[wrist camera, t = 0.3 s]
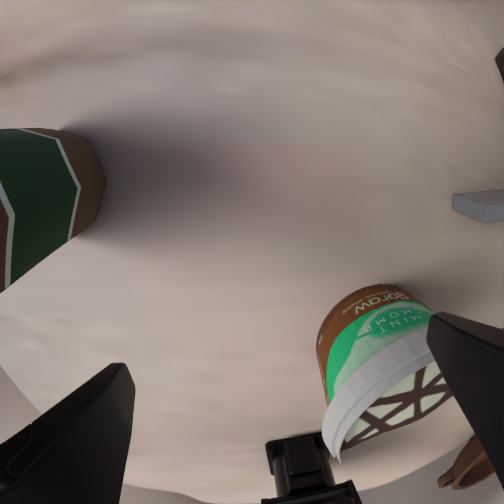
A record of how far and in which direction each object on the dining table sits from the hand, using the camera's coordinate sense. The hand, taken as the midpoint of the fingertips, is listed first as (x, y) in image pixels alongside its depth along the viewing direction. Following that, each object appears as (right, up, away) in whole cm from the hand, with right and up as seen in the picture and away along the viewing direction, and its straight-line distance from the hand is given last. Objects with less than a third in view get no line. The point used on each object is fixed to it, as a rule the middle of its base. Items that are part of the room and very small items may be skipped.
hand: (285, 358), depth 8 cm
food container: (+8, -2, +15) cm, 17 cm away
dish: (+38, -27, +27) cm, 54 cm away
